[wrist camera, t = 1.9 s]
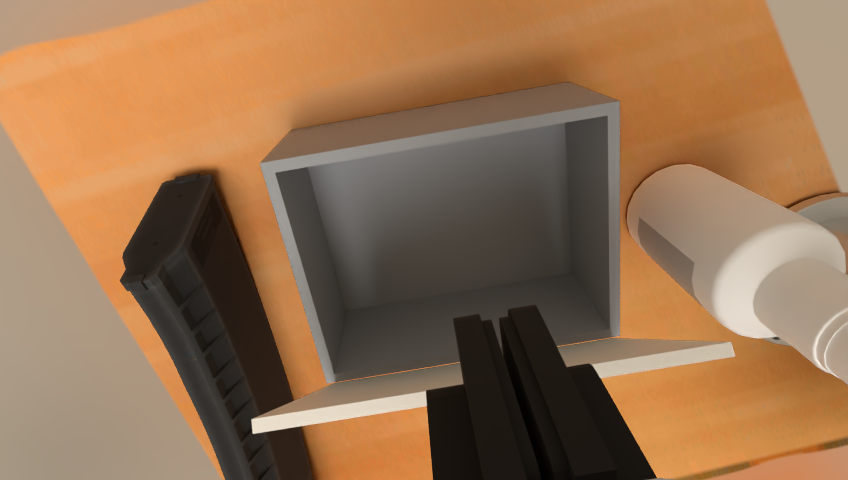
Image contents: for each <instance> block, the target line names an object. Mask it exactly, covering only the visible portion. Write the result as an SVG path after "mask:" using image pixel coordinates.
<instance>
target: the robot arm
mask: <svg viewBox="0 0 848 480" xmlns="http://www.w3.org/2000/svg"><path fill="white" fill-rule="evenodd" d="M788 209H789V210H791V211H793V212H795V213H797V214H799V215H801V216H803V217H805V218H807V219H809V220H811V221H813V222H815V223H817V224H819V225H821V226H822V227H824V228H825V229H827V230H828V231H829V232H831V233H832V234H833V235H835V236H836V237H837V239H838V240H839V242H840V244H841V246H842V248H843V250H844V252H845V262H846V272H845V274H847V275H848V193H831V194H825V195H820V196H817V197H814V198H811V199H808V200H805V201H802V202H800V203H798V204H796V205H794V206H792V207H790V208H788ZM453 322H454V329H455V335H456V341H457V347H458V353H459V359H460V365H461V371H462V378H463V384H461V385H455V386H449V387H443V388H437V389H431V390H426V400H427V412H428V424H429V436H430V447H431V459H432V471H433V480H673V479H663V478H657V477H656V475H655V474H654V472H653V470H652V468H651V466H650V465H649V463H648V461H647V459H646V458H645V456H644V454H643V452H642V451H641V449H640V447H639V445H638V444H637V442H636V440H635V438H634V437H633V435H632V433H631V431H630V430H629V428H628V426H627V424H626V423H625V421H624V419H623V417H622V416H621V414H620V412H619V410H618V409H617V407H616V405H615V403H614V402H613V400H612V398H611V396H610V394H609V393H608V391H607V389H606V387H605V386H604V384H603V382H602V380H601V379H600V377H599V375H598V373H597V372H596V370H595V369H594V367H593V366H592V365H591V364H589V363H588V364H582V365H576V366H570V367H567V366H566V364H565V362H564V360H563V358H562V356H561V354H560V352H559V350H558V348H557V346H556V344H555V342H554V340H553V338H552V336H551V334H550V332H549V330H548V328H547V326H546V324H545V322H544V320H543V318H542V316H541V314H540V312H539V310H538V308H537V306H536V305H529V306H523V307H517V308H511V309H508V316H507V317H501V318H499V325H500V334H501V342H502V351H503V354H502V351H501V348H500V345H499V342H498V339H497V335H496V332H495V329H494V326H493V323H492V320H491V319H489V320H483V321H481V317H480V314H475V315H469V316H463V317H457V318H453ZM762 339H764V340H766V341H768V342H771V343H774V344H780V345H786V346H791V345H789V344H788V343H786V342H785V341H783V340H781V339H780V338H779V337H769V338H762Z"/></svg>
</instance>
